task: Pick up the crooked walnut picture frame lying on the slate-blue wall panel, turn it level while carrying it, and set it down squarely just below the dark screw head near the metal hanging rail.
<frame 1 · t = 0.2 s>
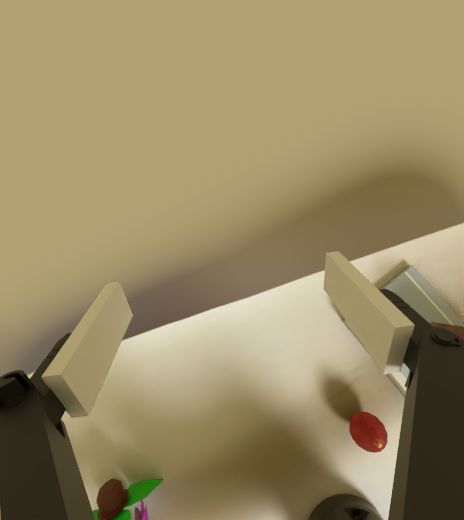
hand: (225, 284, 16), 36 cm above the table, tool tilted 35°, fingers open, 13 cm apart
wall panel: (416, 341, 49), on the table
frame: (453, 352, 47), point 1 cm above the table, touching wall panel
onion: (357, 419, 47), on the table
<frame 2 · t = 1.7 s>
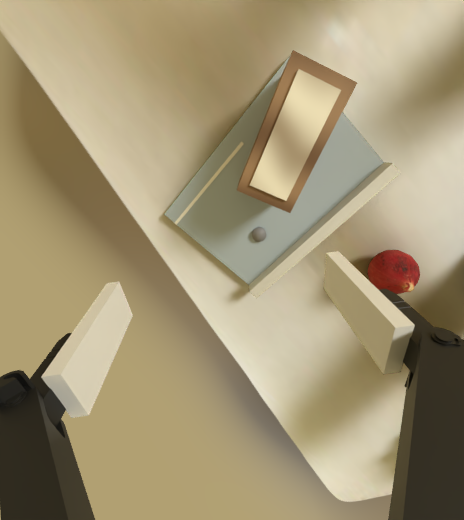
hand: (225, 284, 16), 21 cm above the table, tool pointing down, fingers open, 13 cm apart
wall panel: (270, 192, 34), on the table
frame: (280, 143, 30), point 1 cm above the table, touching wall panel
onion: (378, 260, 37), on the table
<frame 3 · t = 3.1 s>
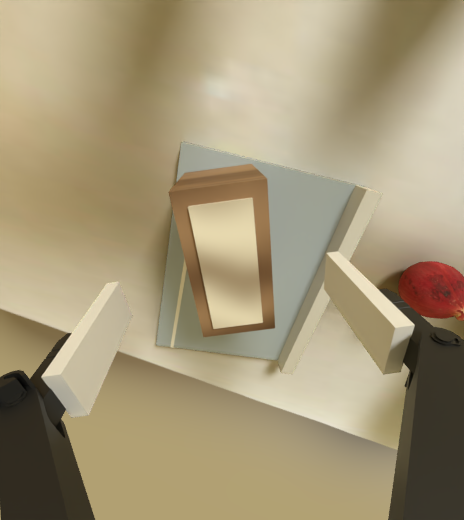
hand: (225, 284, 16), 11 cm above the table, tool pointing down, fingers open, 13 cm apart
wall panel: (246, 272, 28), on the table
frame: (226, 231, 25), point 1 cm above the table, touching wall panel
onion: (406, 270, 30), on the table
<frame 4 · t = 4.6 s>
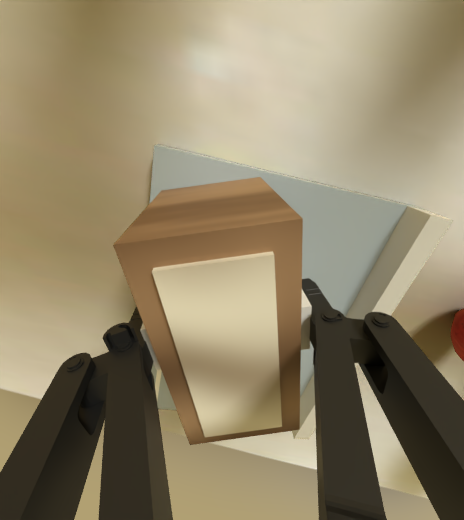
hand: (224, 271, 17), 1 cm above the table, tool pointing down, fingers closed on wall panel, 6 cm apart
wall panel: (250, 317, 21), on the table
frame: (224, 269, 18), point 1 cm above the table, touching wall panel
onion: (456, 310, 23), on the table
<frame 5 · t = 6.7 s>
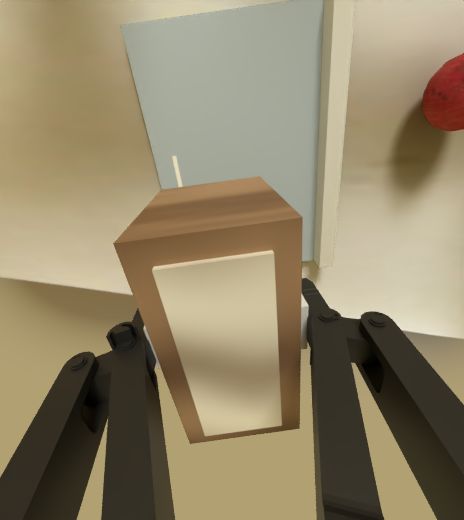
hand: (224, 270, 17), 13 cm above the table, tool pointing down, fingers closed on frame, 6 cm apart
wall panel: (244, 166, 26), on the table
frame: (224, 268, 18), point 12 cm above the table, touching gripper
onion: (430, 97, 24), on the table
when the fingers open (3 cm above the table, at t = 8.3 s): frame drops 1 cm, resting on wall panel.
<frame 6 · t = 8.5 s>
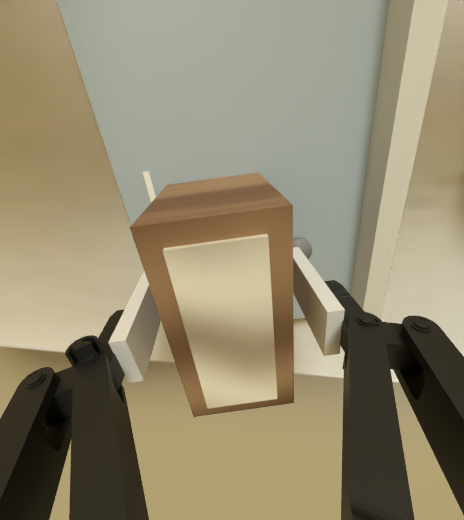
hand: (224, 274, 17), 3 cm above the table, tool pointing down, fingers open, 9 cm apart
wall panel: (255, 185, 18), on the table
frame: (224, 259, 19), point 1 cm above the table, touching wall panel
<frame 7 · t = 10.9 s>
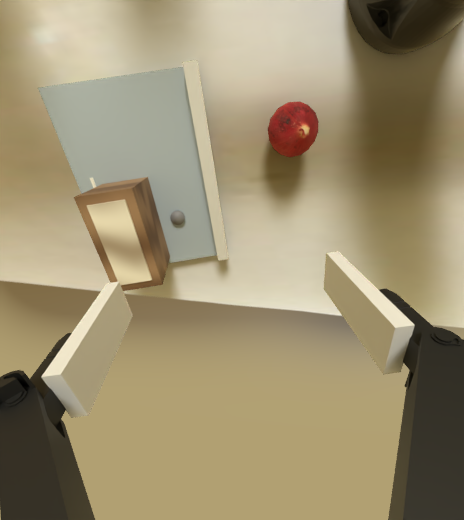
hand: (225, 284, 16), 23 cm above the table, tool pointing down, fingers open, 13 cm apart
wall panel: (151, 183, 34), on the table
frame: (139, 223, 35), point 1 cm above the table, touching wall panel
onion: (283, 130, 33), on the table
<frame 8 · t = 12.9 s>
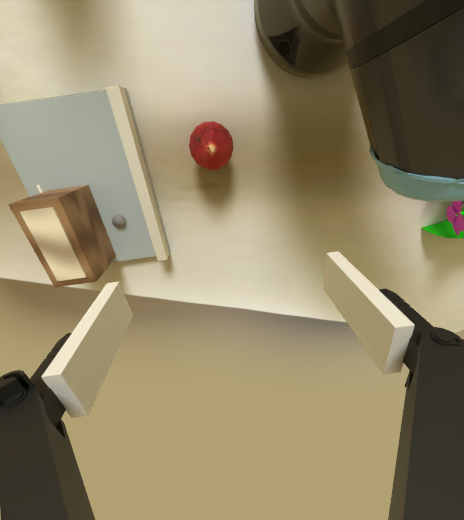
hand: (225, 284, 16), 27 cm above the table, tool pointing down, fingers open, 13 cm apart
wall panel: (94, 190, 38), on the table
potted plant: (442, 144, 39), on the table
frame: (84, 225, 39), point 1 cm above the table, touching wall panel
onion: (211, 144, 36), on the table
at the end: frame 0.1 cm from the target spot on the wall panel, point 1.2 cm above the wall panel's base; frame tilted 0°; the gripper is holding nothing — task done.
